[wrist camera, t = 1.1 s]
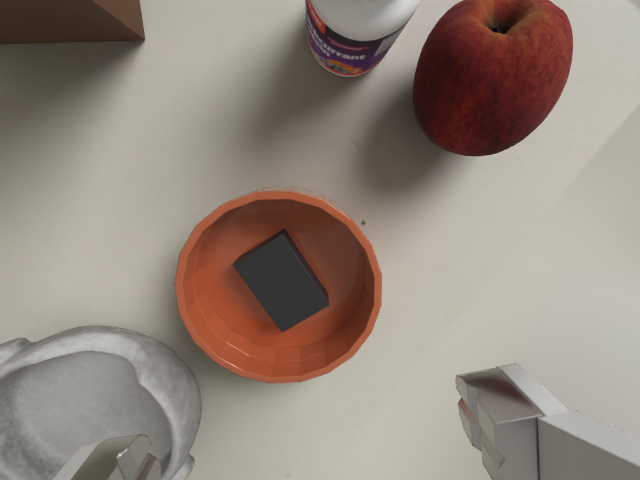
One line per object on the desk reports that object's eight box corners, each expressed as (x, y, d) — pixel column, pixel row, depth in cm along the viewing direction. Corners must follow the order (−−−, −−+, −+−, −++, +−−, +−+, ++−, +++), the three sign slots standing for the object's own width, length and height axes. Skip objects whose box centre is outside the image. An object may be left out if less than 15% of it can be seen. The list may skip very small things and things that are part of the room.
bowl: (187, 189, 22) (160, 194, 18) (371, 183, 22) (383, 187, 18) (209, 352, 25) (189, 387, 21) (369, 345, 25) (380, 379, 21)
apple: (513, 28, 20) (643, -60, 12) (503, 154, 22) (611, 147, 14) (397, 36, 20) (453, -48, 12) (398, 161, 22) (447, 159, 14)
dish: (12, 320, 24) (-65, 360, 19) (191, 307, 24) (160, 343, 19) (63, 468, 27) (8, 535, 22) (219, 456, 27) (199, 519, 22)
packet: (238, 256, 22) (231, 265, 20) (284, 227, 22) (282, 234, 20) (284, 319, 24) (281, 333, 22) (328, 293, 23) (329, 305, 21)
